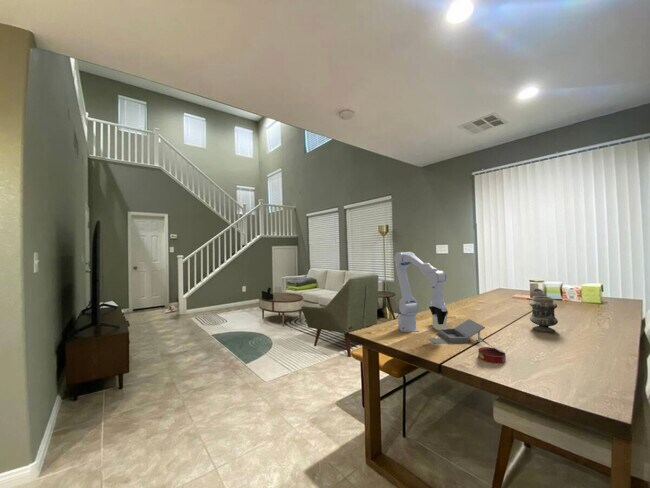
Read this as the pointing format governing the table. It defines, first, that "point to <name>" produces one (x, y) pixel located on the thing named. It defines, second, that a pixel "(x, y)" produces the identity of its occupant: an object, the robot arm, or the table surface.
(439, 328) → the module
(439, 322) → the robot arm
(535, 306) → the dark ornate urn
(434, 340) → the pad
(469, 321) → the case
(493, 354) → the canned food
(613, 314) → the table surface
